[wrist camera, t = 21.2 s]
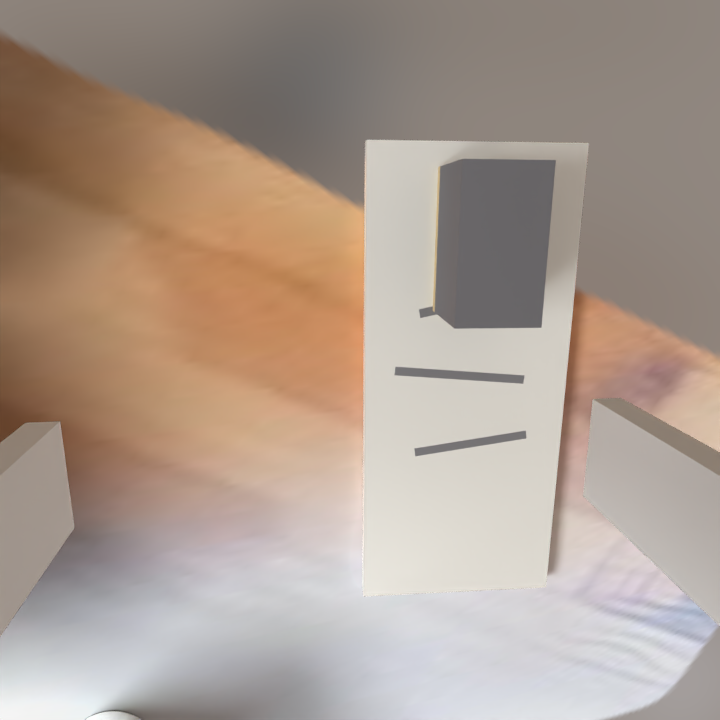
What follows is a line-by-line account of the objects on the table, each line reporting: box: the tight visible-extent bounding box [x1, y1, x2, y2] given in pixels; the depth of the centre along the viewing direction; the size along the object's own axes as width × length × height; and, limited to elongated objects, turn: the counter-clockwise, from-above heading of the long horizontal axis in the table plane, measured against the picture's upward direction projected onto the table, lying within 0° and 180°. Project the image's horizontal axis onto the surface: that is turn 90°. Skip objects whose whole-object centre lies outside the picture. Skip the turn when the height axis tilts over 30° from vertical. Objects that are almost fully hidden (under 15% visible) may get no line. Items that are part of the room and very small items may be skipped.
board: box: [362, 140, 589, 596], centre depth 40 cm, size 14×32×1 cm, turn 0°
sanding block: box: [433, 159, 556, 329], centre depth 34 cm, size 5×9×6 cm, turn 0°
